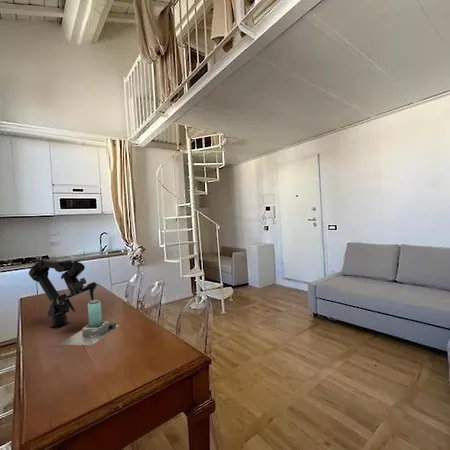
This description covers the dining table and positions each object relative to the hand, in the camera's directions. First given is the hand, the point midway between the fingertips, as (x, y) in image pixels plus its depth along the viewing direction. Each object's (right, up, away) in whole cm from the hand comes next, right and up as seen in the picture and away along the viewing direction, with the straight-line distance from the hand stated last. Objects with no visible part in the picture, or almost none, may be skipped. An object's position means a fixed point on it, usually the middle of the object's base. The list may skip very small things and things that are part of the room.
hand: (84, 307), depth 135 cm
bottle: (+9, -8, -5) cm, 13 cm away
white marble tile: (+8, -12, -7) cm, 16 cm away
